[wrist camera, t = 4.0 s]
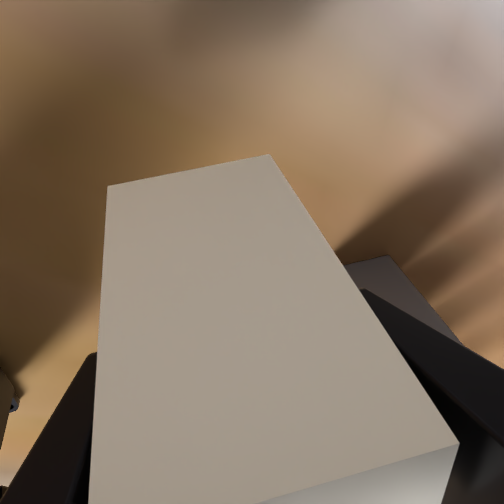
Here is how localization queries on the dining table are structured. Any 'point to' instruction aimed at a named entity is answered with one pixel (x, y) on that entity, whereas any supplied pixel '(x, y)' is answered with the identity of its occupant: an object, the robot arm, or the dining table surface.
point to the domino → (396, 290)
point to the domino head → (247, 357)
